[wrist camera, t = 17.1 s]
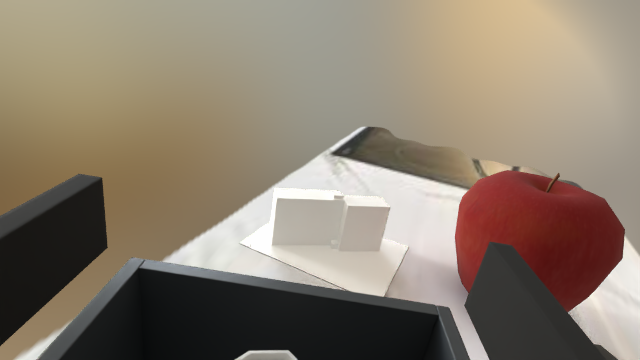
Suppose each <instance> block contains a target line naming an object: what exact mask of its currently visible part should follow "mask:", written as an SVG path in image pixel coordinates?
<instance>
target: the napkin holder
mask: <svg viewBox="0 0 640 360" xmlns="http://www.w3.org/2000/svg"><path fill="white" fill-rule="evenodd" d="M389 211H390V206H389V205H388V204H387V202H386V201H385V200H384V199H383V198H382V197H374V196H348V195H343V194H342V192H339V191H338V190H314V189H291V188H274V194H273V203H272V212H271V220H270V222H269V223H267V224H266V225H264V226H263V227H261V228H260V229H259V230H257V231H256V232H254V233H253V234H251V235H250V236H248V237H247V238H246V239H244V240H243V241H241V242H240V243H241V244H243V245H245V246H247V247H250V248H252V249H254V250H257V251H259V252H261V253H264V254H266V255H268V256H270V257H273V258H275V259H277V260H280V261H282V262H284V263H287V264H289V265H291V266H293V267H296V268H298V269H300V270H303V271H305V272H307V273H309V274H312V275H314V276H316V277H319V278H321V279H323V280H326V281H328V282H330V283H332V284H335V285H337V286H339V287H342V288H344V289H346V290H348V291H351V292H357V293H363V294H369V295H376V296H382V297H384V295H385V293H386V291H387V289H388V287H389V285H390V283H391V281H392V279H393V277H394V275H395V273H396V271H397V269H398V267H399V265H400V263H401V261H402V259H403V257H404V255H405V253H406V251H407V249H408V246H405V245H402V244H400V243H397V242H394V241H391V240H389V239H386V238H383V234H384V230H385V227H386V223H387V219H388V215H389Z"/></svg>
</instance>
